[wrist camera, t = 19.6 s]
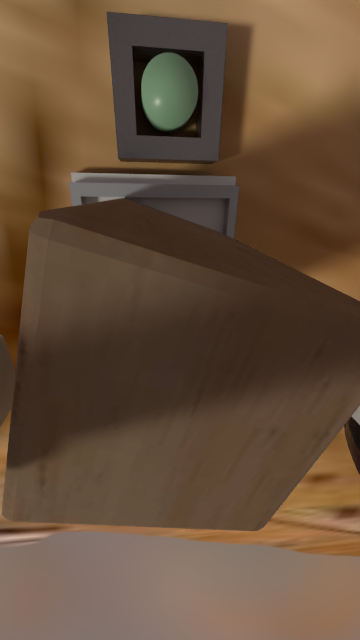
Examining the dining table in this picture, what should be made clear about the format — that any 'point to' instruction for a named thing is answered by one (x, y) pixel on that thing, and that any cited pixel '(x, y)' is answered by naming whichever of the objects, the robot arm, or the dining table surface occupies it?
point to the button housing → (142, 46)
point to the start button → (168, 92)
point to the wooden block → (169, 374)
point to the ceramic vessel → (353, 440)
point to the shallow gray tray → (166, 195)
